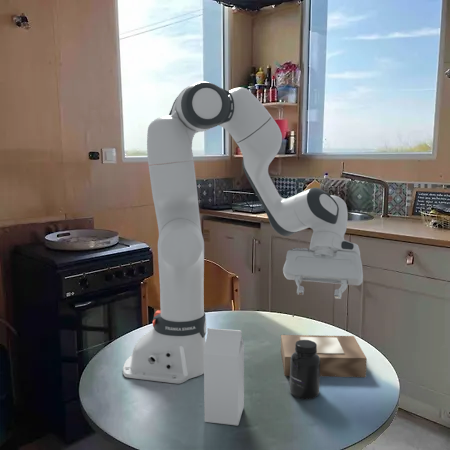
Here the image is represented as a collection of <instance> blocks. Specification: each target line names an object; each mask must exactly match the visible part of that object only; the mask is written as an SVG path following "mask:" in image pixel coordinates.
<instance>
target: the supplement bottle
mask: <svg viewBox="0 0 450 450" xmlns="http://www.w3.org/2000/svg"><path fill="white" fill-rule="evenodd" d="M316 353H317V344H316V343H315V342H313V341H310V340H299V341H297V342H296V344H295V352H294V353H293V354H292V356H291V361H290V376H289V392H290V394H291V395H292V396H294V397H295V398H297V399H301V400H312V399H315V398H317V397H318V396H319V394H320V383H321V376H320V364H321V360H320V357H319V356H318V355H317V354H316Z"/></svg>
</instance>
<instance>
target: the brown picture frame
mask: <svg viewBox="0 0 450 450" xmlns="http://www.w3.org/2000/svg"><path fill="white" fill-rule="evenodd" d="M299 340H310V341H313V342H315V343H316V344H317V353H316V354H317V355H318V356H319V357H320V360H321V364H320V377H327V378H329V377H331V378H334V377H335V378H344V377H345V378H366V377H367V362H368V361H367V356H366V355H365V353H364V351H363V350H362V348H361V346H360V344H359V342H358V340H357V339H356V337H355V336H354V335H311V334H310V335H309V334H308V335H307V334H306V335H305V334H299V335H298V334H297V335H296V334H281V335H280V355H281V361H282V363H281V364H282V367H283V375H284V376H285V377H287V376H288V377H290V361H291V356H292V354H293V353H294V352H295V344H296V342H297V341H299Z"/></svg>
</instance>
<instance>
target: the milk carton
mask: <svg viewBox="0 0 450 450" xmlns="http://www.w3.org/2000/svg"><path fill="white" fill-rule="evenodd" d="M206 334H207V335H206V338H205V341H206V344H205V349H204V374H203V389H204V390H203V391H204V392H203V396H204V397H203V400H204V402H203V403H204V411H203V412H204V422H205V423H213V424H220V425H229V426H230V425H231V426H240V425H239V424H240V421H241V418H242V414H243V411H244V407H245V403H244V402H245V342H244V339H243V336H242V330H239V329H225V328H222V329H221V328H210V327H208V328H206Z"/></svg>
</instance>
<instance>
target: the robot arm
mask: <svg viewBox="0 0 450 450" xmlns="http://www.w3.org/2000/svg"><path fill="white" fill-rule="evenodd" d="M218 126H219V127H221V128H223V129H224V130H225V131H227V132H228V133H229V135H230V136H231V137H232V140H233V141H234V142H235V143H236V145H237V146H238V148H239V151H240V152H241V155H242V158H243V159H242V162H241V163H242V169H243V172H244V174H245V177H246V179H247V180H248V182H249V184H250V186H251V187H252V189H253V191H254V193H255V195H256V196H257V198H258V200H259V202H260V203H261V205H262V208H263V210H264V211H265V214H266V217H267V219H268V221H269V224H270V226H271V228H272V229H273V231H275V232H276V233H277V234H279V235H281V236H283V237H290V236H292V235H294V234H296V233H299V232H301V231H303V230H306V229H311V230H312V235H311V239H310V243H309V248H308V247H307V248H306V247H301V248H299V247H293V248H290V249H289V250H287V252H286V255H285V262H284V264H283V268H282V272H283V275H284V277H285V278H286V280H290V281H291V280H293V281H294V282H295V284H296V287H297V288H296V294H297V295H298V296H299V295H300V296H304V292H305V288H304V286H302V285H301V284H302V282H312V283H313V282H314V283H323V284H324V283H325V284H334V285H335V284H336V285H337V284H338V285H340V286H339V288H337V289H334V294H333V296H334V299H340V300H342V295H343V293H344V292H345V291H346V290H347V289H348V286H361V285H362V284H363V281H364V273H363V272H364V271H363V262H362V258H361V251H360V247H359V245H358V244H357V243H354V242H350V241H349V240H346V239H345V234H346V231H347V227H348V219H349V218H348V217H349V216H348V207H347V204H346V202H345V200H344V199H342V197H339V196H337V195H332V194H329V193H327V192H326V191H325V190H323V189H320V188H319V187H311V188H309V189H306V190H303V191H301V192H299V193H297V194H295V195H293V196H290V197H287V198H284V197H282V196H281V195H280V193H279V192H278V189H277V188H276V186H275V184H274V182H273V180H272V178H271V176H270V174H269V173H270V172H269V166H270V164H271V163H272V161H273V160H274V159H275V157H276V156H277V155H278V154H279V151H280V150H281V147H282V143H283V142H282V141H283V134H282V132H281V129H280V126H279V124H277V122H276V120H275V119H274V118H273V116H272V115H271V114H270V112H269V111H268V109H267V108H266V106H264V105H263V103H262V102H261V101H260V100H259V99H258V98H257V97H256V96H255V95H254V94H253V93H252V91H250V90H249V89H248V88H245V87H235V88H232V89H230V90H226V89H225V88H222V87H220V86H218V85H216V84H215V83H212V82H208V81H198V82H195V83H193V84H191V85H189V86H187V87H185V88H183V90H182V91H181V92H180V93H179V94H178V95H177V97H176V98H175V100H174V101H173V103H172V106H171V108H170V110H169V114H168V115H164V116H160V117H157V118H155V119H154V120H153V121H151V122H150V123H149V125H148V127H147V134H146V135H147V136H146V151H147V164H148V171H149V179H150V188H151V194H152V201H153V204H154V205H153V207H154V210H155V216H156V217H155V218H156V223H157V229H158V239H157V261H158V275H159V294H160V296H159V297H160V302H159V303H160V310H159V309H158V310H156V311H155V313H154V314H153V318H152V327H153V328H152V329H150V330H149V331H148V332H146V333H145V334H143V335H142V336H141V337H140V338H139V339H138V340H137V341H136V343H135V344H134V347H133V349H132V352H131V355H130V356H129V357H128V358H127V359H126V360H125V362H124V364H123V367H122V374H123V376H124V377H125V378H129V379H137V380H145V381H154V382H161V383H162V382H163V383H170V384H175V385H176V384H183V383H185V382H187V381H188V380H190V379H192V378H193V379H194V378H196V377H200V376H202V375H204V349H205V344H206V336H207V335H206V334H207V318H206V316H207V315H206V312H205V311H204V310H205V309H204V308H205V307H204V306H205V304H204V298H205V297H204V291H205V290H204V281H205V280H204V279H205V277H204V276H205V275H204V274H205V241H204V236H203V233H202V225H201V217H200V208H199V195H198V188H197V179H196V178H197V177H196V169H195V161H194V155H193V149H192V147H193V139H194V137H195V134H197V133H201V132H207V131H208V130H210V129H212V128H215V127H218Z"/></svg>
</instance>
